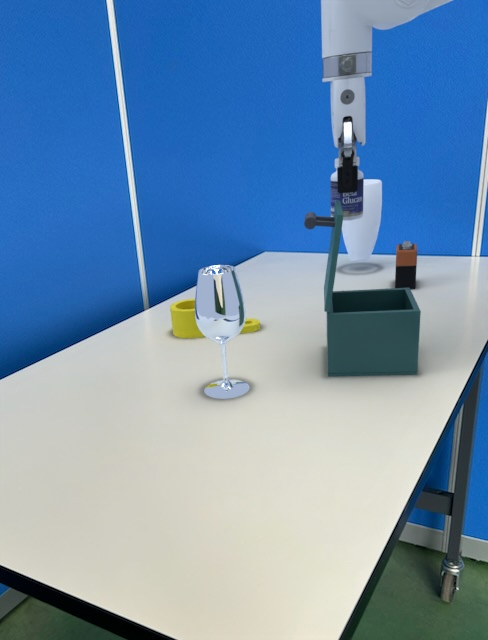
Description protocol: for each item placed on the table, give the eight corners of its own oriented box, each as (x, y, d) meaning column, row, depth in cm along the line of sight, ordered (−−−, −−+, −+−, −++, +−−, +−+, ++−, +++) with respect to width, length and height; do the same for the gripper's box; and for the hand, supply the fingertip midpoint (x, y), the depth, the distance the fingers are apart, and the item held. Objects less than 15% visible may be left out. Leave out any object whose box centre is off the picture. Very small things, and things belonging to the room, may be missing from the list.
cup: (386, 272, 155) (389, 182, 145) (344, 277, 155) (344, 187, 146) (374, 263, 164) (376, 177, 155) (334, 267, 164) (334, 182, 155)
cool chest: (406, 347, 110) (409, 287, 105) (416, 376, 99) (420, 311, 94) (326, 349, 113) (326, 291, 108) (327, 378, 102) (327, 314, 97)
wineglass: (244, 377, 105) (235, 260, 97) (256, 396, 98) (248, 271, 90) (199, 385, 104) (186, 267, 96) (208, 404, 97) (195, 279, 89)
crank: (170, 340, 126) (166, 312, 123) (177, 326, 133) (173, 299, 131) (259, 336, 123) (257, 307, 120) (261, 322, 130) (259, 295, 128)
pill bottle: (343, 222, 104) (342, 160, 100) (324, 219, 109) (323, 159, 104) (369, 217, 106) (370, 155, 101) (350, 213, 110) (350, 155, 106)
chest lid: (340, 201, 101) (306, 199, 102) (343, 215, 90) (305, 212, 91) (328, 289, 108) (297, 286, 109) (330, 312, 97) (294, 309, 97)
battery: (394, 291, 140) (396, 246, 136) (395, 282, 146) (396, 240, 142) (415, 290, 139) (417, 245, 135) (414, 282, 145) (417, 239, 141)
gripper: (374, 63, 89) (373, 195, 97) (368, 67, 104) (367, 180, 112) (321, 71, 91) (323, 199, 98) (323, 73, 106) (325, 184, 113)
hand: (347, 188), depth 105 cm, fingers closed on pill bottle, 5 cm apart
